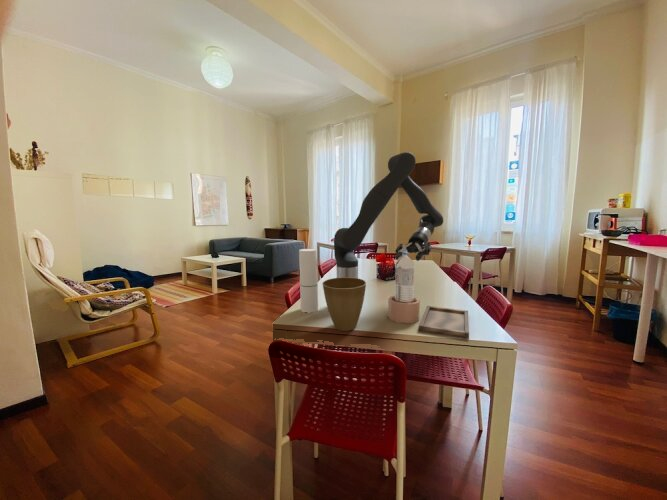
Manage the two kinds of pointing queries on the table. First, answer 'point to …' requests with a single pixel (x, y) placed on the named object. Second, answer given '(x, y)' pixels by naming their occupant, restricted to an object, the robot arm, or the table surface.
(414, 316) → the holder cup
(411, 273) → the water bottle
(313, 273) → the cylindrical container
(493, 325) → the table surface
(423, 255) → the robot arm
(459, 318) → the tray
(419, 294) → the table surface
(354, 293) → the plant pot
